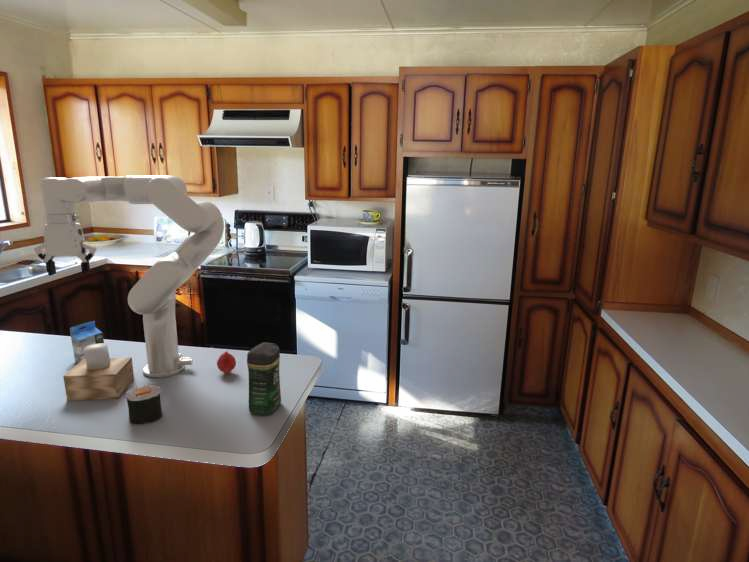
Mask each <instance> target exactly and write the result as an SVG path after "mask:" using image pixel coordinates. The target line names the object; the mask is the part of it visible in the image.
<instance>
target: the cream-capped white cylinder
mask: <svg viewBox="0 0 749 562" xmlns="http://www.w3.org/2000/svg"><path fill="white" fill-rule="evenodd" d="M84 353H85V359H86V365H87V369H88V370H100V369H104V368H106V367H108V366H109V365H110V358H111V357H110V353H109V346H108V344H107V343H105V342H104V343H98V344H93V345H89V346H87V347H85V348H84Z"/></svg>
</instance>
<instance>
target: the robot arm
mask: <svg viewBox="0 0 749 562" xmlns="http://www.w3.org/2000/svg"><path fill="white" fill-rule="evenodd" d="M40 187H41V194H42V200H43V207H44V212H45V220H46V223H45V224H44V231H43V243H41V244H40V245H37V246H36V247H34V248H33V250H34V252H35V253H36V254H37V257H38V258H40V259H41V260H42V261H43V263H45V267H46V272H47V274H48V276H53V275H55V274H57V270H56V263H55V262H56V261H54V259H55V257H56V258H58V257H59V258H60V257H63V258H67V257H70V258H71V257H74V258H76V257H77V258H78V259H79V260H80V261H81V262H80V268H81V274H82V275H83V276H86V275H88V274H90V271H91V268H90V261H91V260H92V258H93V257H94V256H95V253H96V252H97V247H96V246H94V245H92V244H89V243H87V241H86V239H85V235H84V231H83V228H82V226H81V224H80V223H79V222H78V221H80V220H81V216H80V215H77V213H76V209H75V204H87V203H93V202H114V201H115V202H128V203H129V204H130V205H153V206H154V207H156V208H157V209H158V210H159V211H160V212H161V213H163V214H164V215H165V216H166V217H168V218H170V220H171V221H173V222H174V223H175V224H177V225H178V227H180V228H181V229H183V230H184V231H186V232H189V233H190V234H189V235H188V236H187V237H186V238H185V239H183V241H182V243H181V244H180V245H179V246H177V248H176V249H175V250H174V251H172V253H170V254H168V255H167V256H165V257H162V258H161V259H158V260H157V261H156V262H155V263H154V264H152V265H151V267H150V268H148V270H147V271H146V272H145V273H144V274H143V275H142V276H141V278H140V279H139V280H138V281H137V282H136V283H135V284H134V285H133V286H132V288H131V289H130V290H129V292H128V295H127V304H128V306H129V307H130V309H131V310H132V311H133V312H134V313H136V314H139V315H142V323H143V331H144V332H143V333H144V334H143V335H144V341H145V342H144V343H145V351H146V360H147V361H146V362H147V364H146V365H145V366H144V367H143V368H142V373H143V374H144V375H145V376H146V377H149V378H165V377H170V376H171V377H172V376H174V375H176V374H179V373H180V372H181V371H182V372H183V370H184V369H185V366H192V365H193V359H192V358H191V356H190V357H189V356H186V357H184V356H182V352H179V344H178V342H179V341H178V333H177V321H176V320H177V318H176V296H177V295H176V292H177V289H179V288H180V287H181V286H182V285H183V284H185V283H186V282H187V281H188V280H190V278H191V277H192V276H193V274H194V273H195V272H196V271H197V270H198V268H200V266H201V265H203V263H204V262H205V261H206V260H207V258H208V257H209V256H210V255H211V254H212V253H213V251H215V249H216V248H217V247H218V245H219V243H221V242H220V241H221V239H222V238H223V233H224V231H225V230H224V228H225V224H224V223H225V222H224V217H223V213H222V212H221V210H220V209H219V208H218V207H217V205H216V204H214V203H212V202H210V201H203V200H202V201H194V200H193V199H192V198H191V197H189V196H188V195H187V194H188V188H187V185H186V183H185V181H184V180H183V179H182V178H180V177H179V176H175V175H133V174H132V175H124V176H79V177H77V176H76V177H70V178H69V177H68V178H67V177H56V176H55V177H44V178H42V179H41V180H40ZM43 249H44V250H45V253H44V251H43ZM87 250H88V251H89V252H88V251H87ZM87 252H88V254H87Z"/></svg>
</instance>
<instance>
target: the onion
mask: <svg viewBox="0 0 749 562" xmlns="http://www.w3.org/2000/svg"><path fill="white" fill-rule="evenodd" d="M236 365H237V361H236V358H235V356H234V355H233V354H231V353H230V352H228V350H225V351H224V352H223V353H222V354H221V355H219V357H218V359H217V361H216V366H217V368H218V370H219V371H220V372H221V373H224V374H225V375H228V373H229V374H230V373H232V371H233V370H234V369H235V368H236Z"/></svg>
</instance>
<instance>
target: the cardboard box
mask: <svg viewBox="0 0 749 562" xmlns="http://www.w3.org/2000/svg"><path fill="white" fill-rule="evenodd" d="M134 374H135V373H134V366H133V359H132V360H131V361H130V362H129V363H128V364H127V365H126V366H125V367H124V368H123V369H122V371H121V372H120V373H119V374H118V375H117V376H108V377H81V378H64V377H63V383H64V390H65V396H66V401H68V402H69V401H87V400H90V401H92V400H111V399H112V400H117V399H120V398H121V397H122V395H124V393H125V392H127V391H126V390H127V389H128V388H129V387H130V386H131V385H132V384H133V382H134V381H135V375H134ZM130 384H131V385H130Z"/></svg>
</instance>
